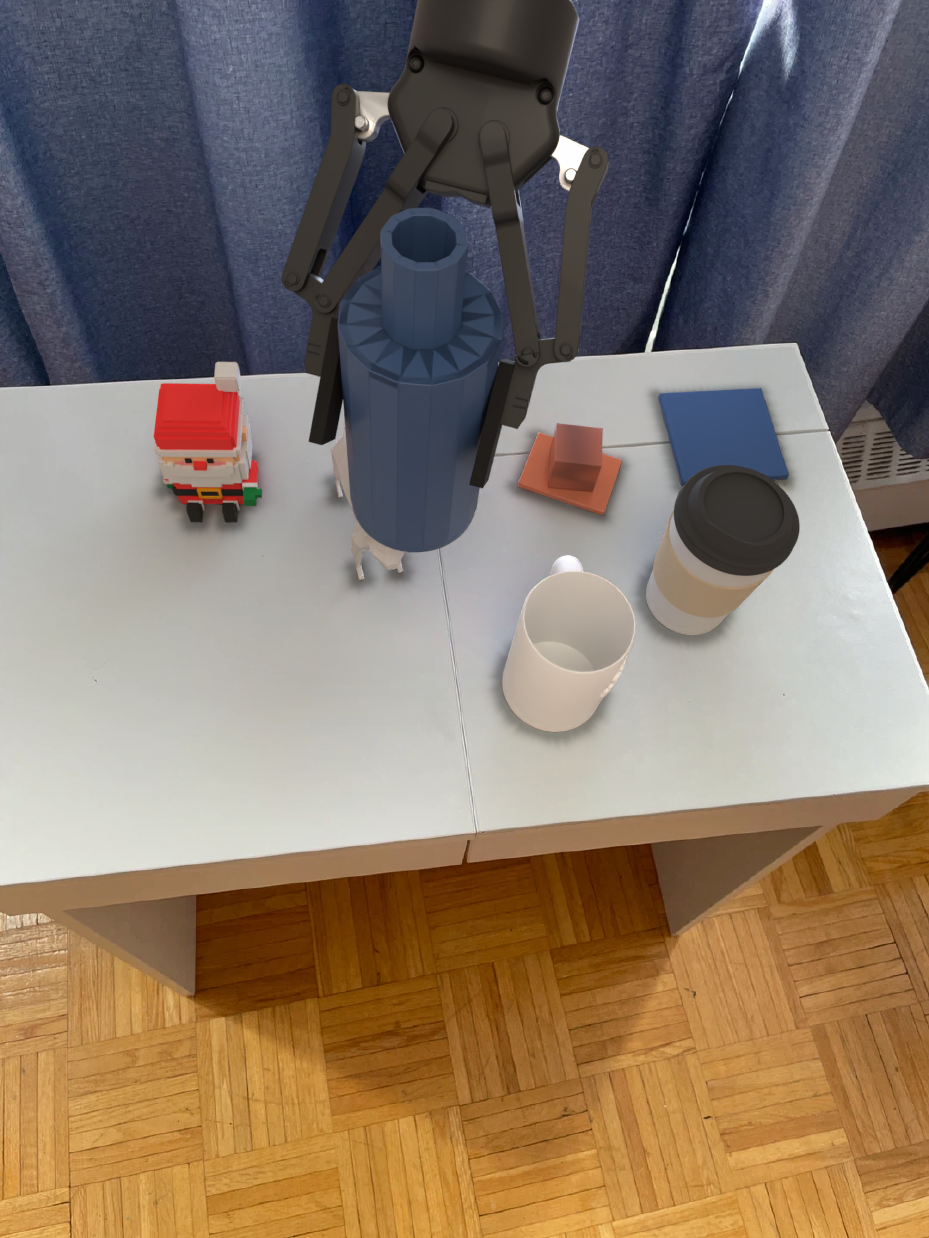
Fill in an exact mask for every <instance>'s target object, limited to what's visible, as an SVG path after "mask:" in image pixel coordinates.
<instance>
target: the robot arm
mask: <svg viewBox="0 0 929 1238" xmlns="http://www.w3.org/2000/svg"><path fill="white" fill-rule="evenodd" d="M575 2H578V0H417V2H416V7H415V13H414V18H413V23H412V28H411V32H410V38H409V44H408V49H407V54H406V61H405V65H404V68H403V69H402V70H403V71H402V72H401V75H400V77H398V80H397V81H396V83H394V85H393V86H392V87H391V89H390V91H389V92H382V91H363V90H356V89H354V88H353V87H352V86H351V85H350V84H348V83H339V84H338V85H336V86H335V87H334V88H333V90H332V92H331V97H330V98H331V99H330V135H329V139H328V141H327V144H326V147H325V149H324V150H325V151H324V153H323V156H322V159H321V162H320V164H319V168H318V171H317V173H316V176H315V179H314V182H313V185H312V187H311V189H310V193H309V196H308V199H307V201H306V204H305V208H304V211H303V212H302V216H301V219H300V221H299V224H298V228H297V230H296V233H295V236H294V239H293V242H292V245H291V247H290V250H289V253H288V255H287V258H286V262H285V264H284V267H283V270H282V273H281V282H282V286H283V287H284V288H285V290H288V291H289V292H292V293H294V294H295V295H297V296H298V297H300V298H301V299H302V300H304V301H305V302H306V303H308V305H309V307H310V309H311V313H312V314H311V317H312V318H311V322H310V328H309V333H308V338H307V345H306V351H305V356H304V362H303V365H304V369H305V373H306V374H308V375H312V376H315V377H319V382H318V386H317V387H318V388H317V392H316V399H315V403H314V410H313V414H312V420H311V425H310V431H309V432H310V433H309V435H308V441H307V442H308V443H311V444H316V445H318V446H324V445H325V444H328V443H330V442H332V441H334V440H336V437H337V433H338V427H339V422H340V417H341V414H342V413H341V412H342V407H343V391H342V378H341V365H340V351H339V338H338V318H339V311H340V304H341V300H342V299H343V298H344V296H345V295H346V293H347V292H348V291H349V289H350V288H351V287H352V285H353V284H354V282H355V281H356V280H357V279H358V278H360V277H362V276H363V275H365V274H367V273H368V272H370V271H372V270H374V269H375V268H376V266H377V264H378V262H379V261H380V260H381V229H382V228H383V227H384V225H385V224H386V223H387V221H388V220H389V219H390V217H392V216H393V215H395V214H397V213H400V212H402V211H404V210H407V209H409V208H418V207H419V206H420V204H422V202H423V200H424V199H425V197H426V196H427V194H428V193H430V194H431V195H435V196H439V197H442V198H459V197H460V198H463V199H465V200H467V201H468V202H470V203H472V204H473V205H476V206H479V207H482V208H487V209H491V215H492V219H493V224H494V227H495V233H496V240H497V246H498V252H499V258H500V264H501V270H502V276H503V283H504V289H505V294H506V299H507V300H506V302H507V306H508V313H509V320H510V325H511V332H512V338H513V345H514V350H515V351H514V352H515V356H514V360H511V359H507V358H503V359H500V360H499V363H498V369H497V373H496V377H495V381H494V385H493V389H492V393H491V397H490V401H489V405H488V410H487V414H486V418H485V422H484V426H483V430H482V434H481V438H480V442H479V446H478V450H477V454H476V458H475V462H474V467H473V471H472V475H471V479H470V483H469V485H471V486H475V487H479V488H480V489H484V488H485V486H486V485H487V484H488V481H489V479H490V476H491V471H492V467H493V463H494V460H495V455H496V452H497V448H498V444H499V440H500V436H501V433H502V427H503V426H504V427H509V428H513V429H516V430H518V429H519V428H520V426H521V425H522V423H523V422H524V421H525V420H526V418H527V414H528V410H529V406H530V403H531V398H532V395H533V391H534V387H535V383H536V379H537V376H538V373H539V370H540V369H541V368H542V367H544V366H545V365H549V364H559V363H569V362H572V361H573V360H575V358H576V357H577V356H578V355H579V351H580V343H581V333H582V332H581V331H582V321H583V311H584V298H585V288H586V277H587V266H588V256H589V255H588V254H589V246H590V234H591V224H592V223H591V222H592V213H593V211H592V210H593V206H594V204H595V201H596V199H597V197H598V194H599V192H600V189H601V187H602V185H603V183H604V180H605V178H606V176H607V175H608V171H609V170H608V169H609V154H608V151H606V149H604V148H603V147H602V146H598V145H595V146H591V147H588V146H586V145H583V144H581V143H579V142H577V141H574V140H572V139H570V138H568V137H566V136H563V135H562V134H561V130H560V124H559V119H558V116H559V115H558V114H559V113H558V112H559V104H560V100H561V96H562V93H563V88H564V84H565V81H566V80H565V79H566V75H567V71H568V67H569V63H570V60H571V55H572V52H573V47H574V43H575V38H576V34H577V30H578V27H579V22H580V17H579V13H578V12H577V9H576V6H575V4H574V3H575ZM388 120H390V121H391V124H392V127H393V128H394V131H395V133H396V137H397V139H398V142H399V144H400V147H401V149H402V152H403V156H402V157H401V158H400V160H399V161H398V163H397V164H396V166H395V167H394V169H393V170H392V172H391V173H390V175H389V177H388V178H387V181H386V183H385V186H384V188H383V190H382V191H381V193H380V195H379V196H378V198H377V199H376V201H375V202H374V204H373V205H372V207H371V208H370V210H369V211H368V213H367V214H366V216H365V217H364V219H363V220H362V222H361V223H360V225H359V227H358V228H357V229H356V230H355V232H354V234H353V236H351V239H350V240H349V241H348V243H347V244H346V246H345V248H344V249H343V250H342V252H341V254H340V255H339V256H338V258H337V259H336V261H335V262H334V264H333V265H332V267H331V268H330V270H329V272H328V273H327V275H326V276H325V277H324V279H323V278H321V276H322V273H323V271H324V268H325V265H326V262H327V260H328V258H329V257H328V256H329V254H330V251H331V248H332V246H333V243H334V240H335V238H336V235H337V232H338V229H339V226H340V224H341V221H342V218H343V215H344V213H345V210H346V207H347V205H348V202H349V199H350V196H351V194H352V191H353V188H354V185H355V182H356V179H357V177H358V174H359V172H360V169H361V166H362V163H363V160H364V156H365V152H366V147H367V143H368V142H373V141H374V140H375V139H376V138H377V137H378V136H379V132H380V129H381V127H382V125H383V124H384V122H386V121H388ZM551 160H554V161H555V162H556V163H557V164H558V166H559V173H558V182H559V184H560V187H561V188H562V190H563V191H565V192H566V193H568V195H567V199H566V205H565V213H564V225H563V237H562V249H561V259H560V272H559V284H558V285H559V286H558V294H557V295H558V297H557V309H556V318H555V319H556V320H555V322H556V323H555V333H554V337H551V338H550V337H549V338H542V337H541V332H540V326H539V325H540V324H539V318H538V311H537V304H536V297H535V291H534V285H533V279H532V273H531V271H532V270H531V265H530V259H529V253H528V245H527V239H526V233H525V226H524V215H523V209H522V204H521V196H520V189H522V187H524V186H525V185H526V184H527V183H528V182H529V181H530V180H532V178H533V177H534V176H535V175H536V174H537V173H538V172H540V171H541V170H542V169H543V168H544V167H545V166H546V165H548V163H549V162H550V161H551Z"/></svg>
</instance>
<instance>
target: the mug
mask: <svg viewBox="0 0 929 1238" xmlns="http://www.w3.org/2000/svg"><path fill="white" fill-rule="evenodd" d="M521 607H522V608H521V611H520V614H519V618H518V621H517V625H516V628H515V631H514V635H513V638H512V641H511V645H510V649H509V651H508V655H507V657H506V662H505V665H504V668H503V673H502V679H501V680H502V683H501V684H502V692H503V695H504V698H505V700H506V703H507V704H508V706H509V708H510V709H511V711H512V713H514V715H516V716H517V717H518V719H520V720H521V721H522V722H524V723H525V724H527V725H528V726H530V727H532V728H534V729H538V730H540V731H544V732H550V733H551V732H553V733H558V732H566V731H570V730H574V729H576V728H578V727H580V726H582V725H583V724H584V723H586V722H588V720H589V719H591V717H592V716H593V715H594V713H595V712H596V710H597V709H598V708H599V706H600V703H601V702H602V700H603V699H604V698H605V697H606V696H607V695H608V694H609V693H610V692H611V690H612V689H613V688H614V686H615V684H616V683H617V681H618V680H619V678H620V676H621V674H622V672H623V670H624V668H625V665H626V661H627V657H628V655H629V653H630V652H631V650H632V648H633V646H634V643H635V639H636V634H637V623H636V617H635V614H634V613H635V612H634V611H633V608H632V606H631V603H630V602H629V601H628V599H627V597H626V596H625V594H624V593H623V592H622V591H621V590H620V588H618V587H617V586H616V585H614V584H613V583H612V582H610V580H608V579H606V578H604V577H602V576H601V575H597V574H594V573H592V572H589V571H584V568H583V564H582V563H581V561H580V560H579V559H578V558H577V557H575V556H573V555H570V554H566V555H561V556H559V557H558V558H557V559H555V560H554V562H553V564H552V566H551V570H550V573H549V576H547V577H545V578H544V579H542V580H541V581H538V582H537V583H536V584H535V585H534V586H533V587H532V588H531V590H530V591H529V592H528V594H527V596H526V597H525V599H524V602H523V604H522V606H521Z"/></svg>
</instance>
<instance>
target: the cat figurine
mask: <svg viewBox="0 0 929 1238" xmlns="http://www.w3.org/2000/svg"><path fill="white" fill-rule="evenodd" d="M330 452H331V457H332V458H331V461H332V466H333V474H334V482H335V487H336V492H337V497H338V498H343V497H344V495H345V497H346V499H347V501H348V504H349V506H350V509H351V511H352V513H353V515H354V518H355V524H354V527H353V532H352V534H351V553H352V555H353V560H354V562H355V568H356V573H357V577H358V578H357V579H358V581H361V580H365V574H364V571H363V567H362V566H363V565H362V560H363V554H364V552H365V551H370V554H371V555H372V556H373V557H374V558H375V559H376V560H377V561H378V562H379V563H380V564H381V565H382V566H383V567H384V568H385V569H386V570H388V571H390V570H397V573H399V574H400V573H404V568H403V564H402V560H403V557H404V555H405V553H406V552H403V551H398V550H394V549H392V548H389V547H386V546H384V545H382V544H380V543H379V542H377V541H376V540H374V539H373V538H372V537H370V536H369V535H368V534H367V533H366V532H365V531H364V530H363V528H362V527H361V526H360V524H359V522H358V521H357V519H356V517H355V514H354V511H353V507H352V502H351V498H350V485H349V472H348V458H347V445H346V432H345V427H344V428H343V431H342V432H341V434H340V435H339V437H338V438H337V440H336V442H335V443H334V445H333V446H332V448H331V449H330ZM342 490H343V492H344V494H343V492H342Z"/></svg>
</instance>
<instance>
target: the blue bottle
mask: <svg viewBox="0 0 929 1238" xmlns="http://www.w3.org/2000/svg"><path fill="white" fill-rule="evenodd" d="M467 235H468V233H467V230H466V228H465V227H464V226H463V225H462V224H461V223H460V222H459V221H458V220H457V219H456V217H455V216H453V215H452V214H449V213H447V212H444V211H441V210H439V209H436V208H433V207H416V208H409V209H407V210H404V211H402V212H400V213H397V214H395V215H393V216H392V217H390V219H389V220H388V221H387V223H386V224H385V225H384V227H383V228H382V229H381V258H380V265H379V266H377V267H374V268H373V270H372V271H370V272H368V273H367V274H365V275H363V276H362V277H360V278H358V279H357V280H356V281H355V282H354V284H353V285H352V287H351V288H350V289H349V291H348V292H347V293H346V295H345V296H344V298H343V299H342V300H341V304H340V311H339V318H338V338H339V351H340V365H341V378H342V391H343V402H342V406H343V416H344V417H343V418H344V428H345V432H346V445H347V458H348V472H349V485H350V498H351V502H352V507H353V511H354V513H353V515H354V514H355V516H354V518H355V517H356V518H355V520H356V519H357V521H358V522H359V524H360V526H361V527H362V528H363V530H364V531H365V532H366V533H367V534H368V535H369V536H370V537H372V538H373V539H374V540H376V541H377V542H379V543H380V544H382V545H384V546H386V547H389V548H392V549H394V550H398V551H403V552H405V553H414V554H415V553H426V552H431V551H436V550H438V549H442V548H444V547H445V546H448V545H450V544H452V543H454V542H455V541H456V540H457V539H459V538H460V537H461V536H462V535H463V534H464V533H465V532H466V531H467V529H468V528H469V527H470V525H471V524H472V521H473V519H474V517H475V513H476V511H477V509H478V504H479V503H478V502H479V494H480V489H481V488H479V487H475V486H471V485H469V483H470V479H471V475H472V471H473V467H474V462H475V458H476V454H477V450H478V446H479V442H480V438H481V434H482V430H483V426H484V422H485V418H486V414H487V410H488V405H489V401H490V397H491V393H492V389H493V385H494V381H495V377H496V373H497V369H498V365H499V361H500V355H501V349H502V342H503V326H504V324H503V323H504V315H503V312H502V310H501V309H500V306H499V304H498V301H497V300H496V297H495V296H494V292H493V291H492V290H491V289H490V288H488V287H487V285H485V284H484V283H482V281H480V280H479V279H478V278H477V277H475V276H474V275H473V274H472V273H471V272H469V271H467V261H468V249H469V243H468V236H467ZM353 511H352V512H353Z"/></svg>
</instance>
